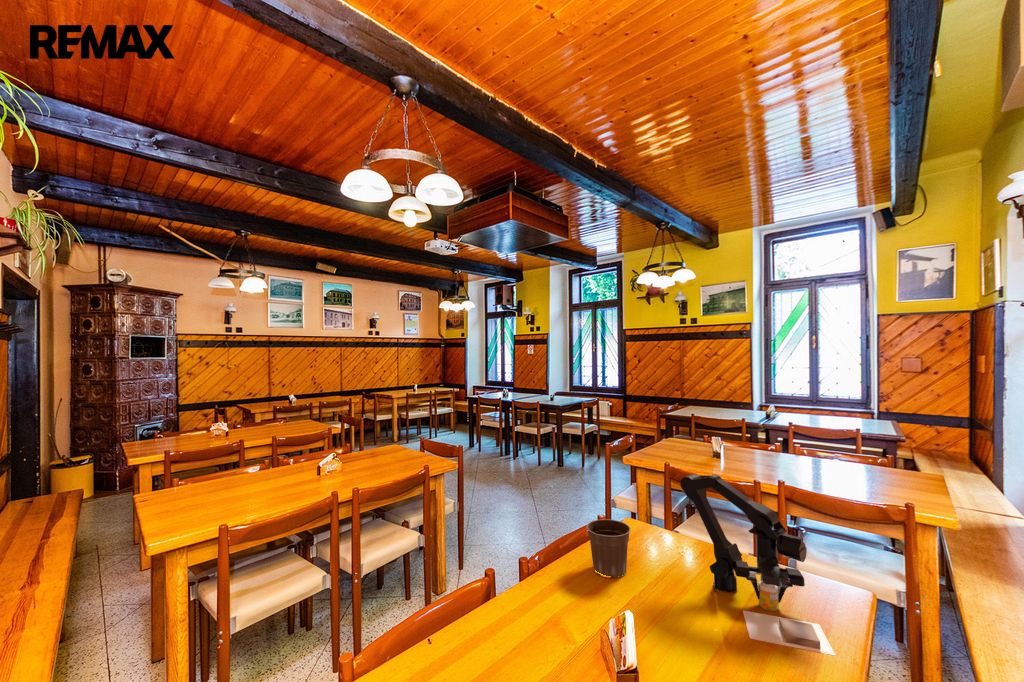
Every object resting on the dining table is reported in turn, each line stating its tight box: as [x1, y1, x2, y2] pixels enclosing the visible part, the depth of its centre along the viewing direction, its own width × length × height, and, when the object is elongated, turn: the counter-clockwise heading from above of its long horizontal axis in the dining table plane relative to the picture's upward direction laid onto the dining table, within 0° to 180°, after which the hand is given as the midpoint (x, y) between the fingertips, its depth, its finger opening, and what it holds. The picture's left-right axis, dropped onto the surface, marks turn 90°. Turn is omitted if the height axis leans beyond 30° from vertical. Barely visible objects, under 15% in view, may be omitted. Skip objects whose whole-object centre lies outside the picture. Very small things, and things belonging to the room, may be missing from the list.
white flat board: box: [742, 610, 836, 657], centre depth 122 cm, size 20×14×1 cm
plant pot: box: [586, 518, 631, 578], centre depth 160 cm, size 16×16×16 cm
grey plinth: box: [779, 618, 820, 649], centre depth 119 cm, size 8×8×2 cm
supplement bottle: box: [757, 575, 780, 612], centre depth 134 cm, size 5×5×10 cm
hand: (768, 600), depth 134 cm, fingers closed on supplement bottle, 5 cm apart
